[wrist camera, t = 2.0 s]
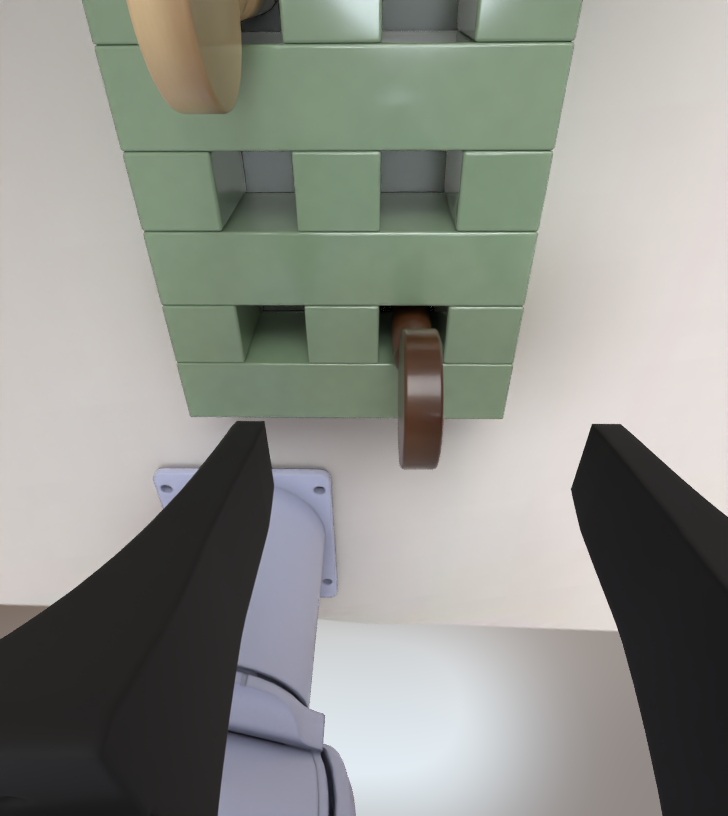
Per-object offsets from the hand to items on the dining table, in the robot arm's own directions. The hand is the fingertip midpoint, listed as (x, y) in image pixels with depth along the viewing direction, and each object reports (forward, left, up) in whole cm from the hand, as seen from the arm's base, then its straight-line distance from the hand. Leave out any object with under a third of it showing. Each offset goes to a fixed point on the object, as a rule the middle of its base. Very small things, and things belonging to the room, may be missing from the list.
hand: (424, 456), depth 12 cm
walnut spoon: (0, 0, -9) cm, 9 cm away
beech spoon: (+8, +4, -9) cm, 13 cm away
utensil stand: (+4, +2, -9) cm, 10 cm away
